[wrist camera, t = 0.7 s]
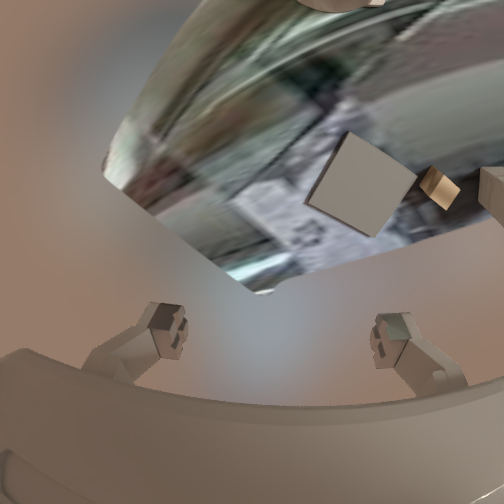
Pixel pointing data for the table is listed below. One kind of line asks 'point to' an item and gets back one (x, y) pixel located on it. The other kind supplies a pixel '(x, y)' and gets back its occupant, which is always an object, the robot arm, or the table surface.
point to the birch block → (439, 188)
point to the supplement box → (492, 191)
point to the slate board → (362, 185)
